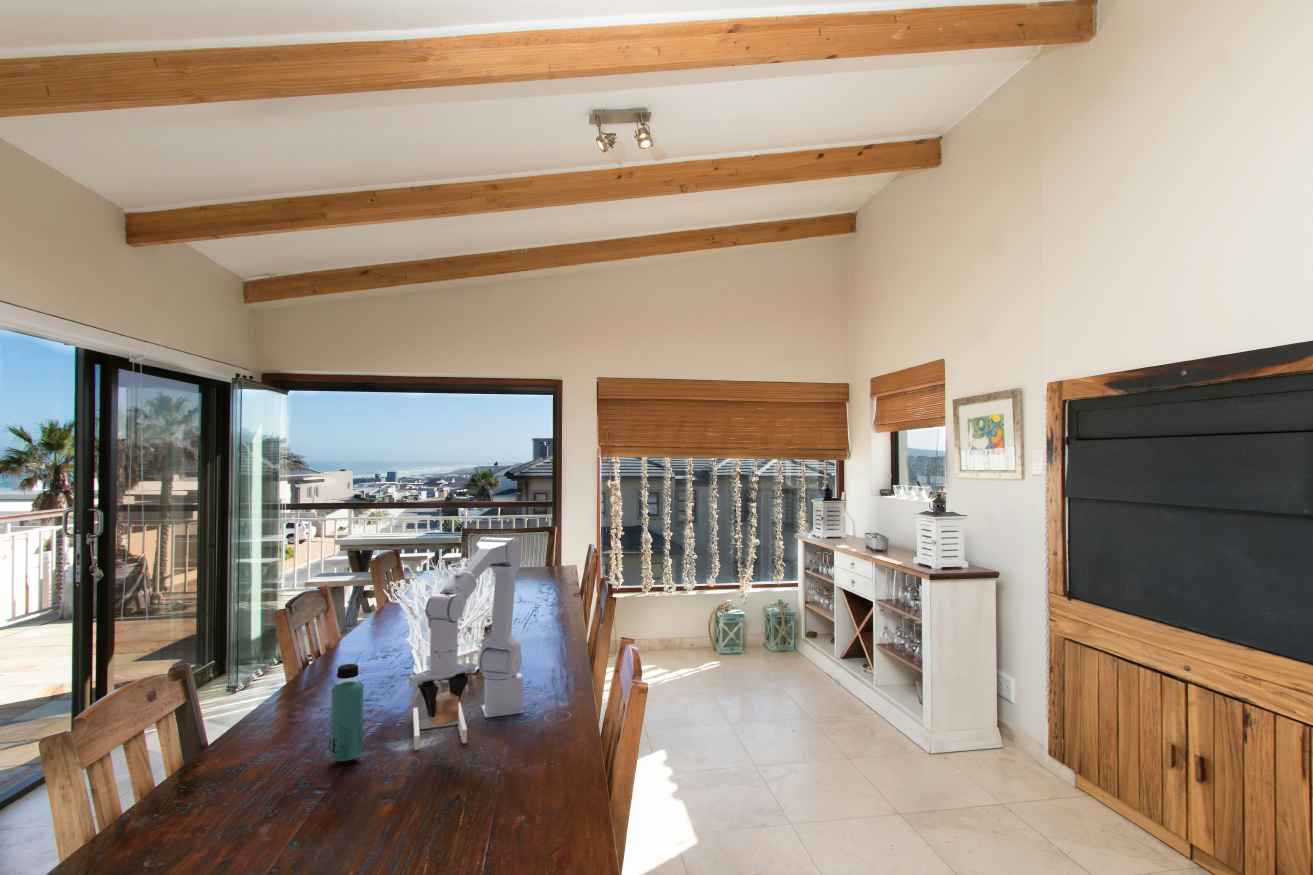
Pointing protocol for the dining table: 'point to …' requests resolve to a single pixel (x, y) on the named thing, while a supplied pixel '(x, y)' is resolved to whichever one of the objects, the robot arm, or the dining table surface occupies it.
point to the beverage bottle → (346, 715)
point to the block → (446, 709)
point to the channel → (428, 724)
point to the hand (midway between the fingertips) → (442, 712)
